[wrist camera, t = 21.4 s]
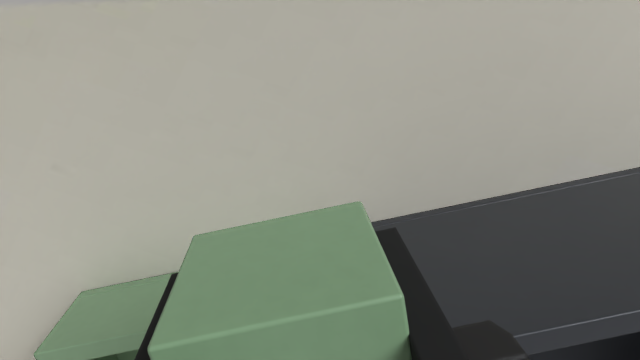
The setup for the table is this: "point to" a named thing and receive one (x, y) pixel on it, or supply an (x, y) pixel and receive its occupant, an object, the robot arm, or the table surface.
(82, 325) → the green bin
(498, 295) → the dark bin
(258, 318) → the green block
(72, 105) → the table surface
